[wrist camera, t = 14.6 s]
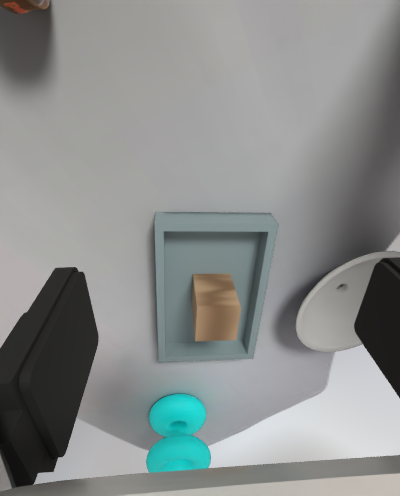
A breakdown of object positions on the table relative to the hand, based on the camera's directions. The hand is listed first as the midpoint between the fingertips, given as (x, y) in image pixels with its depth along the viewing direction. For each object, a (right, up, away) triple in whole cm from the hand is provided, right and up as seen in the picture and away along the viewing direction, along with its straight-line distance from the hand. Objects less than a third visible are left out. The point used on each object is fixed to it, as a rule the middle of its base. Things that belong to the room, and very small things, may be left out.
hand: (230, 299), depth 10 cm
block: (0, -4, +31) cm, 32 cm away
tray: (0, -4, +32) cm, 32 cm away
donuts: (-5, -27, +45) cm, 53 cm away
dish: (+19, -4, +34) cm, 39 cm away
